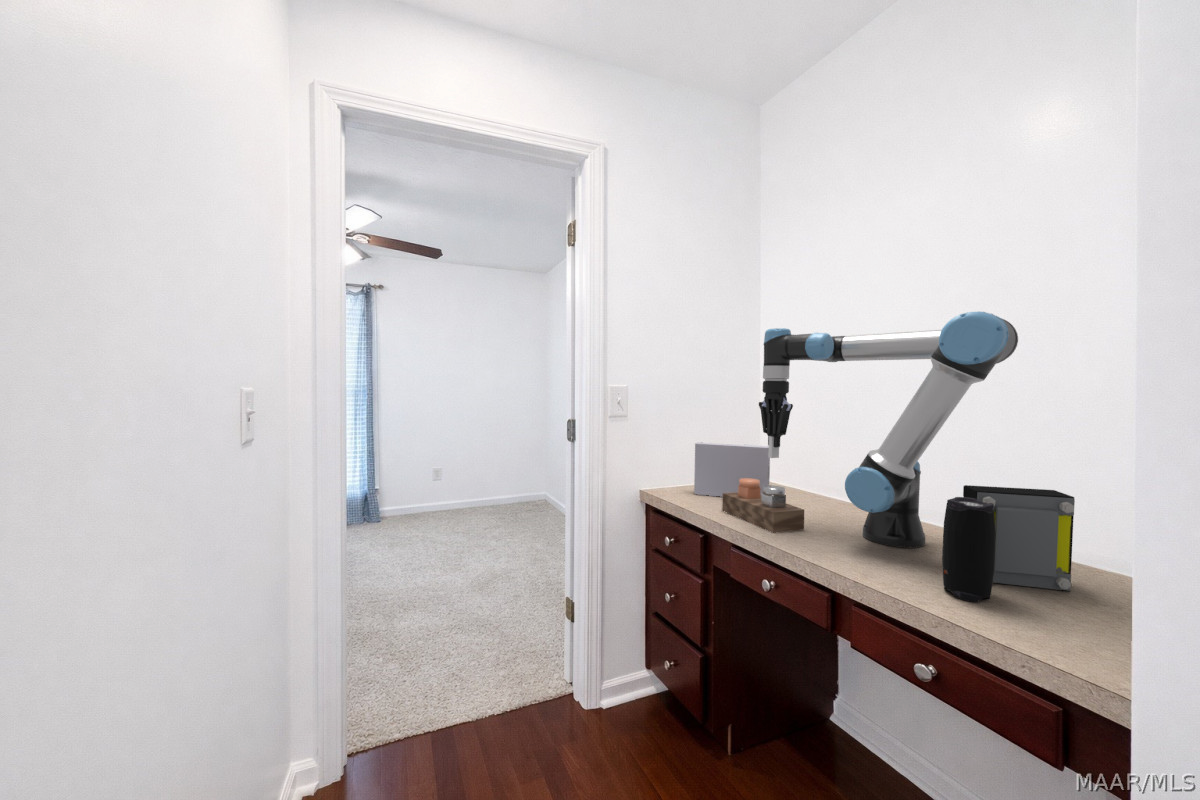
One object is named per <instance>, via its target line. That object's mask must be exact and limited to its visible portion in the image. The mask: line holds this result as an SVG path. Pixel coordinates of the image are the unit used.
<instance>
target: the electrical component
mask: <svg viewBox="0 0 1200 800" xmlns="http://www.w3.org/2000/svg"><path fill="white" fill-rule="evenodd" d="M962 497H969V498H975V499H977V500H978V501H981V502H985V503H993V504H994V519H995V530H996V540H995V564H994V576H993V583H994V584H1003V585H1011V586H1012V585H1013V586H1021V587H1031V588H1032V587H1033V588H1040V589H1049V590H1050V589H1051V590H1058V591H1069V592H1070V591H1072V589H1071V587H1072V559H1073V557H1072V556H1073V535H1074V533H1073V532H1074V516H1075V496H1073V495H1072V496H1071V495H1069V494H1066V493H1065V492H1061V491H1057V490H1055V489H1045V488H1044V489H1042V488H1041V489H1040V488H1024V487H1023V488H1021V487H1005V486H1002V487H1001V486H983V485H982V486H981V485H967V484H965V485H963V491H962ZM993 583H992V584H993Z"/></svg>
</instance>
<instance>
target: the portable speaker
mask: <svg viewBox="0 0 1200 800" xmlns="http://www.w3.org/2000/svg"><path fill="white" fill-rule="evenodd" d="M945 507H946V508H945V512H944V521H943V531H942V532H943V533H942V534H943V535H942V555H941V561H942V564H941V565H942V579H943V580H942V581H943V590H944V591H946V590H947V591H950V592H951V593H952V594H953V597H955V598H957V599H960V600H962V601H965V602H972V603H979V602H980V601H982V600H983V599H989V600H990V599H991V595H992V590H993V576H994V564H995V540H996V530H995V519H994V504H993V503H985V502H981V501H978V500H977V499H975V498H969V497H964V496H955V497H953V498H950V499H947V501H946V506H945Z"/></svg>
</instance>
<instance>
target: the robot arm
mask: <svg viewBox="0 0 1200 800" xmlns="http://www.w3.org/2000/svg"><path fill="white" fill-rule="evenodd" d="M1018 344H1019V336H1018V332H1017V330H1016V328H1015V327H1014V325H1013V324H1012V323H1011V322H1010V321H1008V320H1006V319H1004V318H1001V317H999V316H997V315H995V314H993V313H989V312H986V311H969V312H964V313H961V314H958V315H955V316H954V317H952V318H951V319H950V320H949V321H947V322H946V323H945V325H944V326H943V327H942V328H941V329H933V330H917V331H916V330H915V331H901V332H884V333H883V332H882V333H872V334H871V333H870V334H869V333H868V334H856V335H855V334H854V335H853V334H852V335H837V336H835V335H833V336H831V334H830V333H827V332H813V333H801V334H792V332H791V330H790V329H789V328H785V327H784V328H781V327H779V328H769V329H767V330H765V331H764V339H763V366H762V368H763V369H762V379H764V380H763V381H762V392H763V394H764V393H765V394H764V398H763V401H759V402H758V406H759V407H758V408H759V409H760V414H761V415H760V417H761V424H762V432H763V433H764V434H766V435H767V446H769V451H768V457H769V458H770V459H779V458H780V447H781V437H782V436H785V435H786V434H787V430H788V425H789V421H790V416H791V412H792V410H793V407H794V404H793V403H789V401H788V399H787V394H788V393H789V392H790V382H789V381H788V380H789V379H790V365H791V364H790V363H791V361H816V362H818V361H819V362H827V363H837V362H853V361H854V362H858V361H862V362H863V361H865V362H866V361H900V360H901V361H904V360H905V361H907V360H909V361H910V360H930V361H931V365H932V368H931V369H930V371H929V372H928V373H927V375H926V376H925V378H924V380H923V381H922V383H921V384H920V386H919V387H918V388H917V391H916V392H915V393H914V395H913V396H912V398H911V399H910V401H909V402H908V404H907V405H906V407H905V408H904V410H903V412H901V415H899V418H898V419H897V421H896V422H895V424H894V425H893V427H891V429H890V432H889V433H887V436H886V438H885V439H884V440H883V442H882V444H881V445H880V447H879V448H877V449H872V450H869V451H868V453H867V454H866V456H865V457H864V459H863V460H862V462H861V463H860V465H859V466H858V467H855V468H854V469H853V470H851V471H850V472H849V473H848V475H847V476H846V478H845V481H844V490H845V494H846V496H847V499H849V501H850V502H851V503H852V504H853V506H855V507H856V508H858V509H860V510H861V511H864V512H866V513H868V514H867V515H866V518H865V522H864V524H863V526H862V537H863V538H865V539H867V540H868V541H871V542H873V543H876V544H881V545H884V546H885V545H886V546H889V547H895V548H896V547H897V548H906V549H907V548H909V549H911V548H914V549H915V548H921V547H924V546H926V533H925V532H924V528H923V524H922V522H921V518H920V516H919V515H920V514H919V512H920V510H919V509H920V490H921V489H920V486H921V485H920V484H921V474H922V473H921V465H920V462H919V460H920V458H921V457H922V455H923V454H924V453H925V451H926V450H927V448H928V447H929V445H931V443H932V441H933V440H934V438H935V437H936V436H937V435H938V433H939V431H940V430H941V429H942V427H943V426H944V424H945V423H946V422H947V420H948V418H949V417H950V416H951V414H952V413H953V412H954V410H955V409H956V408H957V406H958V404H959V403H960V401H961V400H962V399H963V398H964V396H965V395H966V393H967V391H968V390H969V389H970V387H971V386H972V385H973V384H977V383H981V382H983V381H985V379H987V377H988V376H989V374H990V373H991V371H992V370H993V368H994V367H995V366H996V365H997V364H1000V363H1002V362H1003V361H1005V360H1007V359H1009V358H1010V357H1011V356H1012V354H1013V353H1014V352H1015V351H1016V349H1017V347H1018Z"/></svg>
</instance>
